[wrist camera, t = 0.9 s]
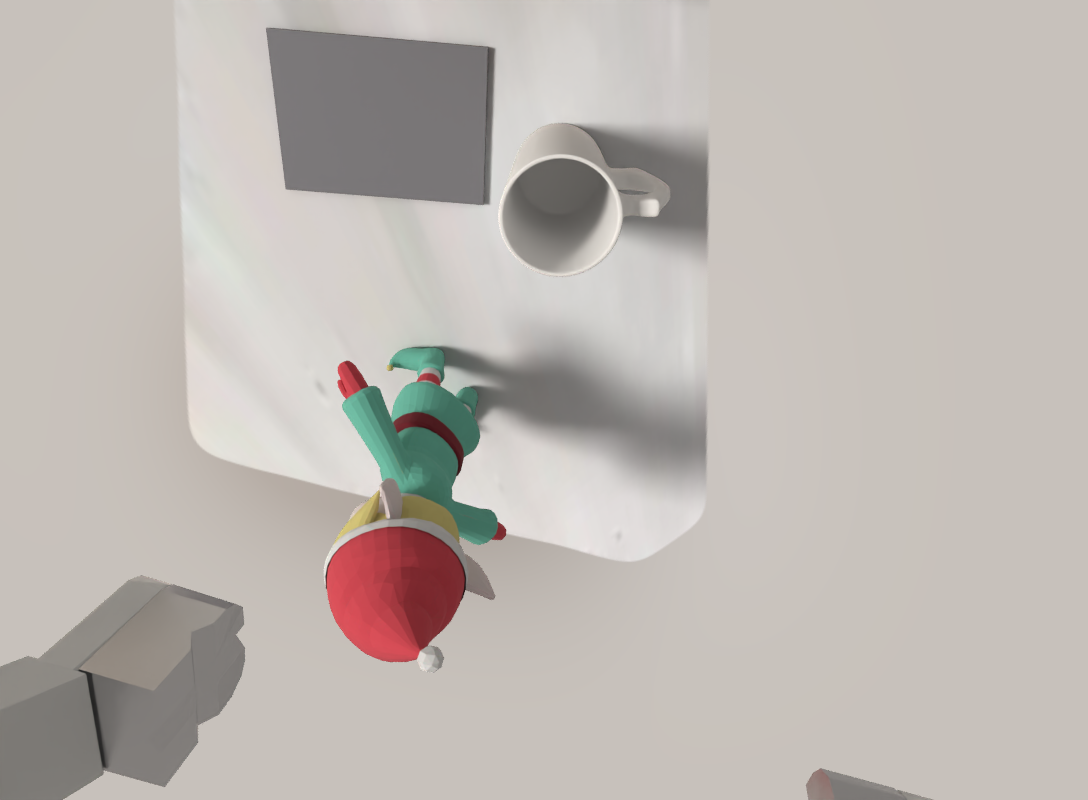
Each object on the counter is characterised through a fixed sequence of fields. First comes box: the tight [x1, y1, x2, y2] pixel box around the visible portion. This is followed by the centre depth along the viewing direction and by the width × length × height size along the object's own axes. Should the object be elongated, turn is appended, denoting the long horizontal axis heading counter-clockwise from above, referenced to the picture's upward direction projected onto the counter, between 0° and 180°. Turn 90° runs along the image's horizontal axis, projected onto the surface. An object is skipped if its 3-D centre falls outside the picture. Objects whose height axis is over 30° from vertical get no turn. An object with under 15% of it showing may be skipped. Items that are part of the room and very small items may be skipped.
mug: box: [498, 123, 671, 277], centre depth 41 cm, size 10×7×12 cm, turn 92°
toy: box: [324, 348, 506, 673], centre depth 42 cm, size 17×8×30 cm, turn 34°
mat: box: [266, 28, 488, 205], centre depth 45 cm, size 14×10×1 cm
